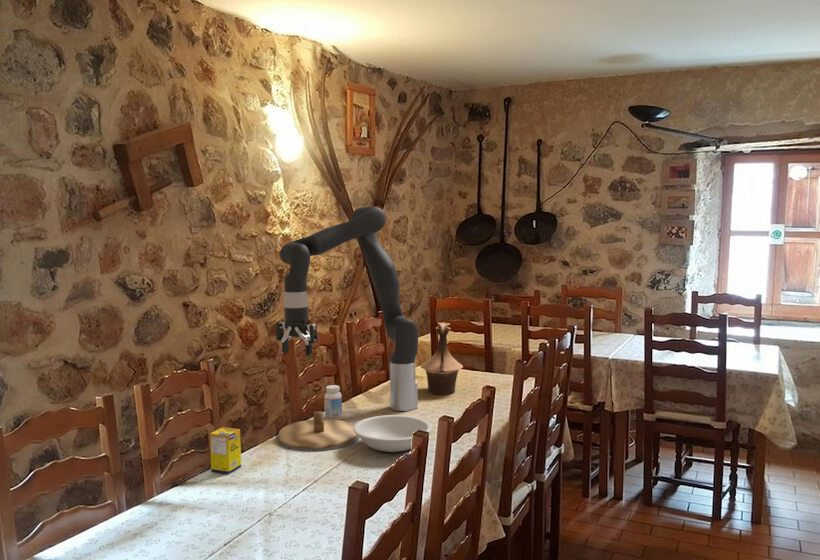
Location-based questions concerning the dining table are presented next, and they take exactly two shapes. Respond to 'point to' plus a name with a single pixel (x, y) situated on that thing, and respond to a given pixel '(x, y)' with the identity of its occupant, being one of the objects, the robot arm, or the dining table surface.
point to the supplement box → (225, 450)
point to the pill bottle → (333, 402)
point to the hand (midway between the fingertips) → (297, 354)
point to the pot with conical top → (442, 366)
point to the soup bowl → (390, 431)
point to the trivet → (317, 448)
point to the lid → (317, 433)
